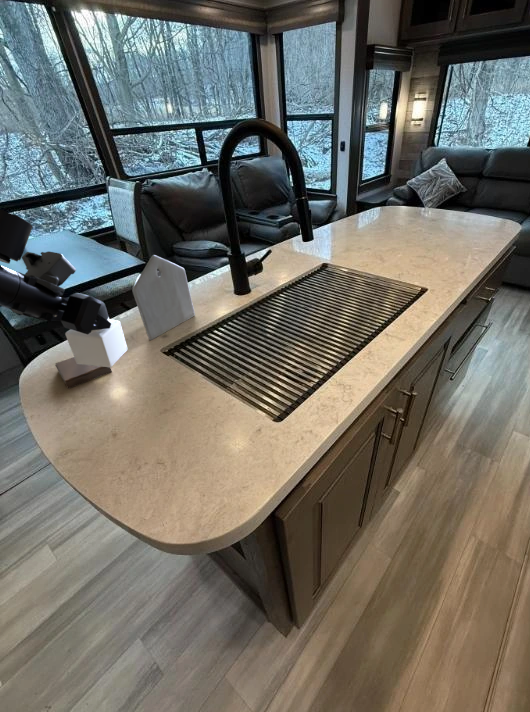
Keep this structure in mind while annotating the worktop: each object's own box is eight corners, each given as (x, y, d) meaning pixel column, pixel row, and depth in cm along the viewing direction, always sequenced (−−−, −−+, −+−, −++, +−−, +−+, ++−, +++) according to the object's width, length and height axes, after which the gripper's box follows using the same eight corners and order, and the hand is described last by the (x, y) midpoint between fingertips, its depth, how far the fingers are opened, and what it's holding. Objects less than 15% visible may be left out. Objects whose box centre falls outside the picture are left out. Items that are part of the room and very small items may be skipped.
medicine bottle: (128, 349, 72) (114, 297, 65) (111, 368, 66) (93, 313, 59) (96, 346, 72) (78, 293, 65) (76, 364, 66) (54, 309, 59)
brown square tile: (68, 388, 70) (64, 381, 69) (58, 370, 76) (54, 363, 75) (112, 371, 75) (108, 364, 74) (99, 355, 80) (96, 348, 79)
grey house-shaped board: (176, 309, 100) (158, 242, 88) (195, 315, 96) (180, 246, 84) (130, 333, 89) (102, 259, 77) (150, 340, 86) (124, 265, 73)
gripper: (64, 247, 49) (144, 291, 63) (-10, 233, 55) (78, 277, 70) (38, 318, 48) (125, 346, 62) (-34, 296, 54) (60, 327, 69)
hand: (96, 322), depth 66 cm, fingers closed on medicine bottle, 7 cm apart
